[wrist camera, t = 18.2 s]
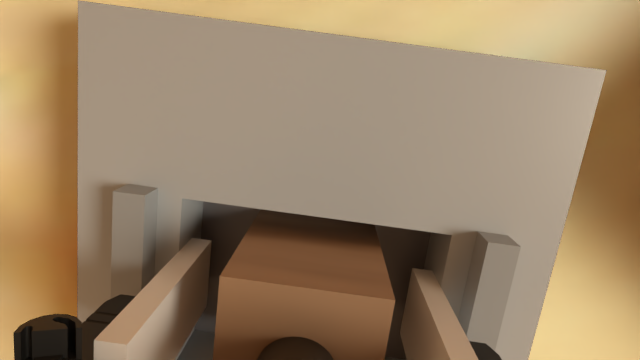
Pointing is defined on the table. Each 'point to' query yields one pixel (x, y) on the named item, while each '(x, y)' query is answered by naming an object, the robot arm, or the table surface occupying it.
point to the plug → (304, 292)
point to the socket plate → (324, 158)
